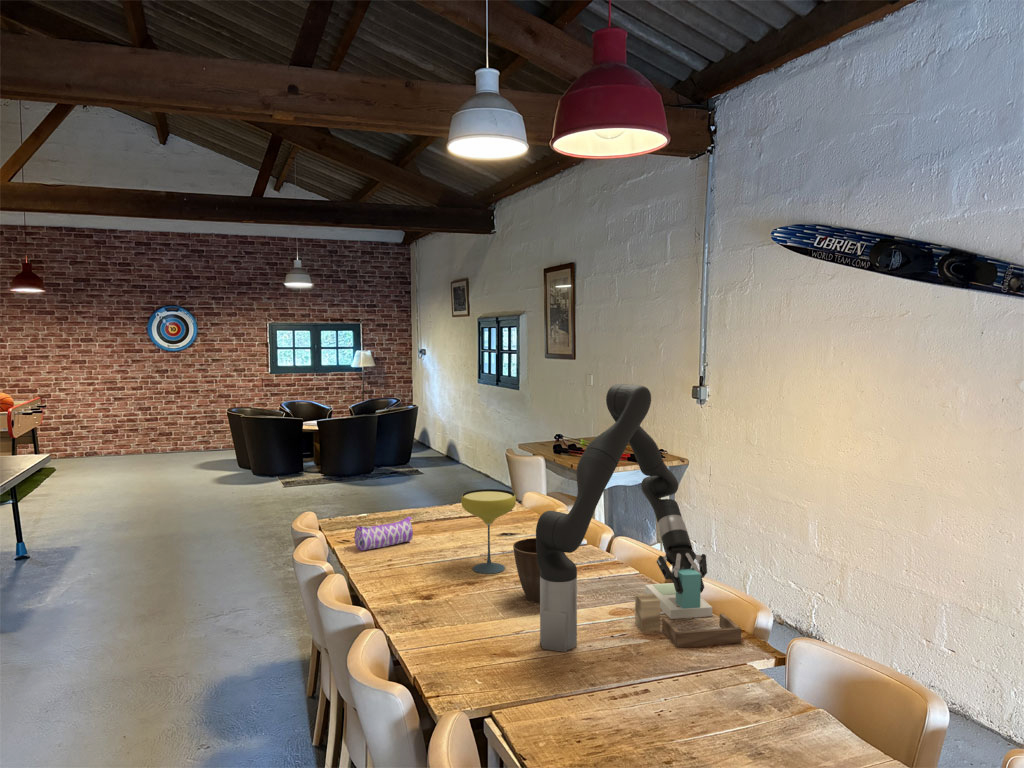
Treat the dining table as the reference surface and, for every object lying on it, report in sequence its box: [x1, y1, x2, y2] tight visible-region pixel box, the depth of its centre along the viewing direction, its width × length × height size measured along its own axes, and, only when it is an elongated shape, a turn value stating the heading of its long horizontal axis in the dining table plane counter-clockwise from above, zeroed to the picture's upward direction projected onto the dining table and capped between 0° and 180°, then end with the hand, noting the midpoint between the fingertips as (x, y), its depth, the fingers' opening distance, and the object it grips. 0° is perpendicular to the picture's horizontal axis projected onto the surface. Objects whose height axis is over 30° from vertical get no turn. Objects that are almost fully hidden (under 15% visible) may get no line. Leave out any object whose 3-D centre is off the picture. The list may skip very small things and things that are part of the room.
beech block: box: [634, 593, 661, 632], centre depth 185 cm, size 5×5×8 cm
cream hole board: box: [644, 582, 713, 620], centre depth 201 cm, size 20×12×3 cm, turn 9°
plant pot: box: [512, 537, 540, 604], centre depth 206 cm, size 15×15×16 cm
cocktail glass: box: [460, 488, 517, 575], centre depth 232 cm, size 18×18×25 cm
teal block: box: [676, 569, 701, 609], centre depth 187 cm, size 4×5×9 cm
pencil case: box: [354, 516, 414, 552], centre depth 260 cm, size 22×9×10 cm, turn 126°
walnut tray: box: [661, 613, 742, 648], centre depth 179 cm, size 10×17×4 cm, turn 99°
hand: (691, 591), depth 185 cm, fingers closed on teal block, 5 cm apart
